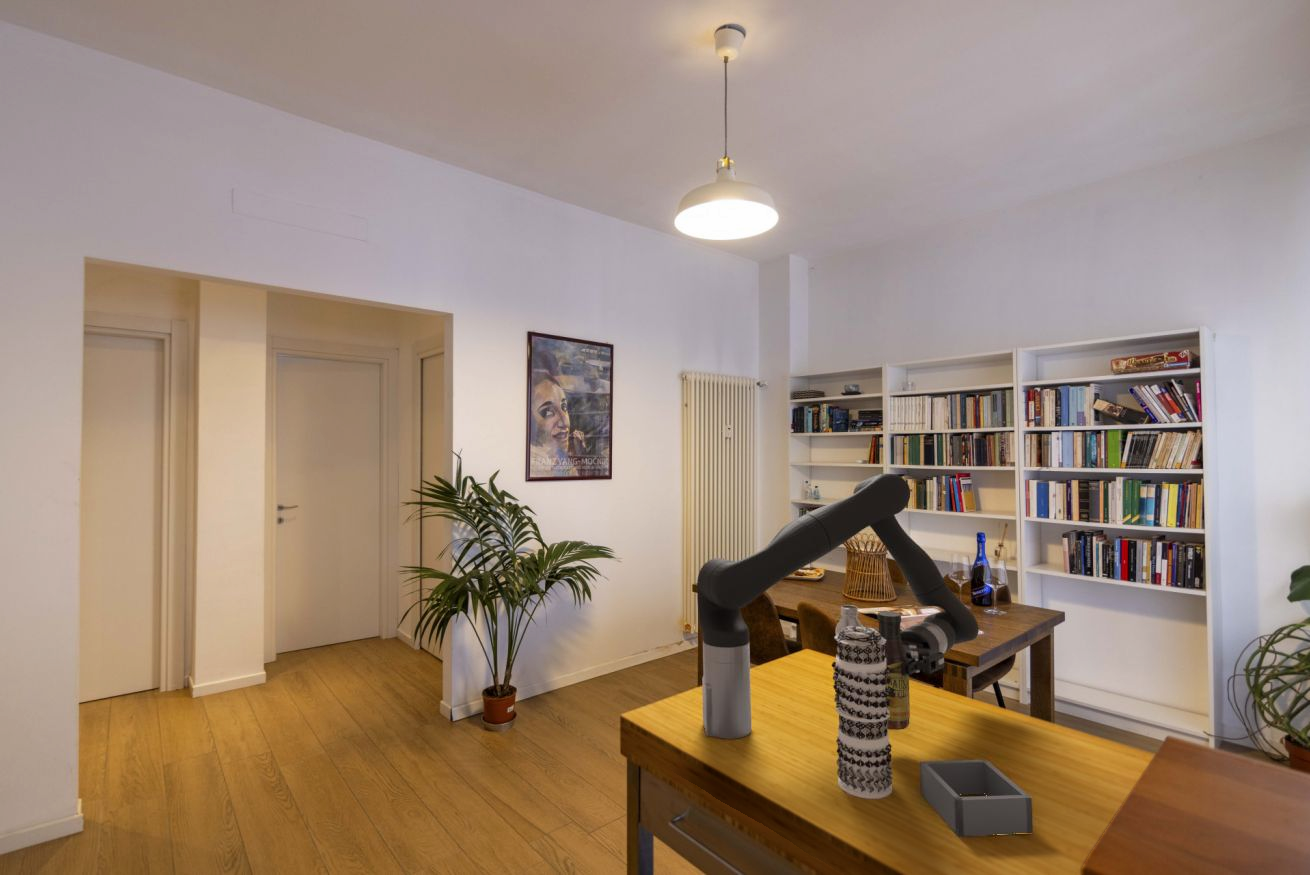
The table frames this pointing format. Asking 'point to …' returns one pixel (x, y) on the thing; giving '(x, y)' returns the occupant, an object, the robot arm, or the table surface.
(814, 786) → the table surface
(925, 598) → the robot arm
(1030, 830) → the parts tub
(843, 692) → the decorative candle
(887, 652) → the sauce bottle
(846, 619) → the plastic bottle
